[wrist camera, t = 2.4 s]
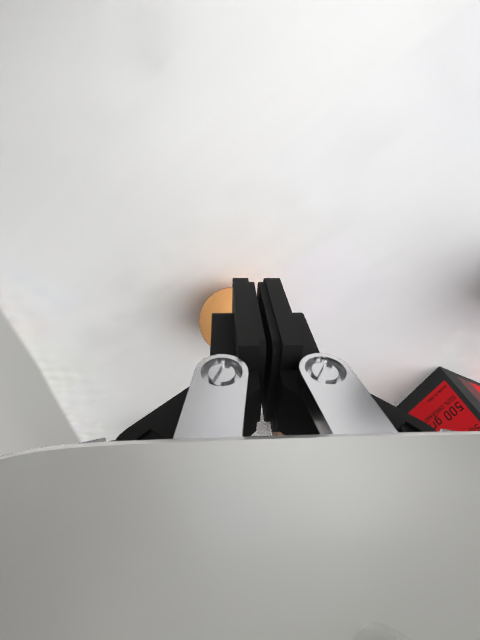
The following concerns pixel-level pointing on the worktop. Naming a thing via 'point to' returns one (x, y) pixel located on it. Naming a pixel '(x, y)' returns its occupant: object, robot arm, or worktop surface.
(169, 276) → the worktop surface
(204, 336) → the ball
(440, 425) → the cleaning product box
